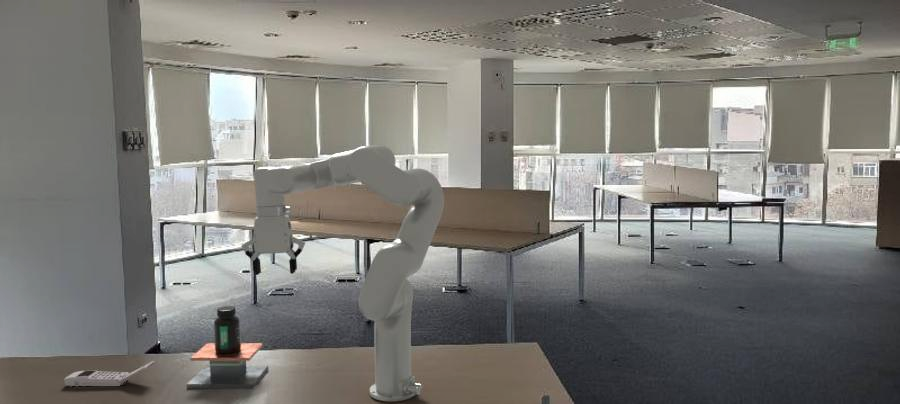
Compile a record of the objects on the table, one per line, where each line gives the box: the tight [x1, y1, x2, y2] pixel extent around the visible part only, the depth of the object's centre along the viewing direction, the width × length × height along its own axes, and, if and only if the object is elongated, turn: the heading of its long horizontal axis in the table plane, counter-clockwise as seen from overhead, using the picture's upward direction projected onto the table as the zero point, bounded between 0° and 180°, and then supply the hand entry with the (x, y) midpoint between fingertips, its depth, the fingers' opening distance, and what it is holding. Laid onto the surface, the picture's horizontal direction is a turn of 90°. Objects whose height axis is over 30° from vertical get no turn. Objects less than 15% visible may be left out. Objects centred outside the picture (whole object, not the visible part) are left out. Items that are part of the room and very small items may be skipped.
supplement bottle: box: [213, 305, 242, 354], centre depth 187 cm, size 7×7×12 cm
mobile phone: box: [63, 360, 155, 387], centre depth 185 cm, size 6×6×25 cm
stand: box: [186, 342, 269, 390], centre depth 188 cm, size 18×14×8 cm
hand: (275, 273), depth 186 cm, fingers open, 9 cm apart
